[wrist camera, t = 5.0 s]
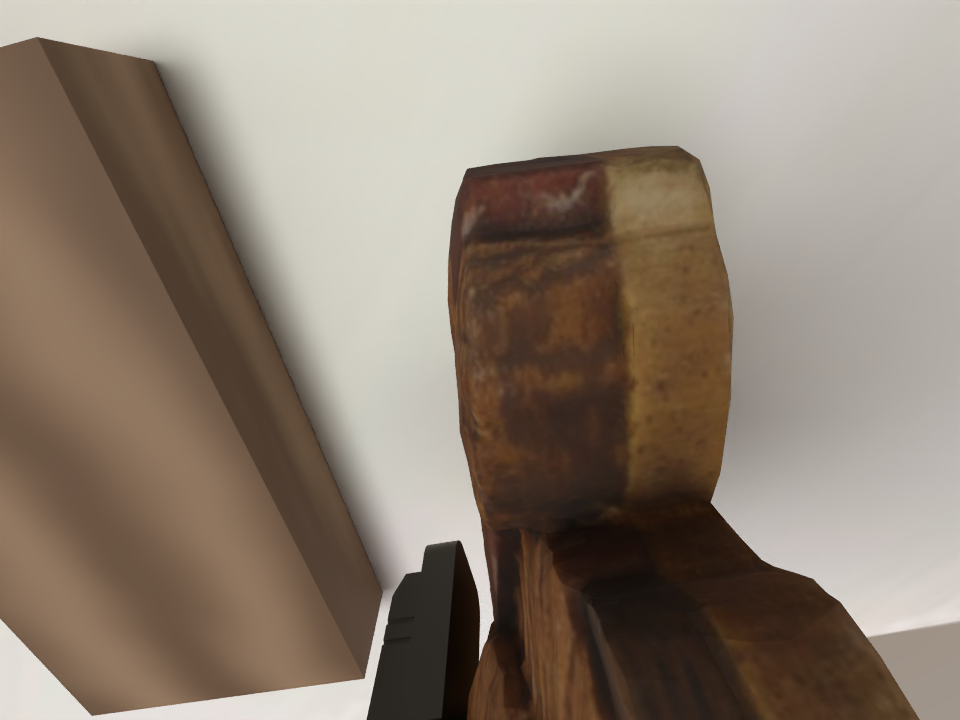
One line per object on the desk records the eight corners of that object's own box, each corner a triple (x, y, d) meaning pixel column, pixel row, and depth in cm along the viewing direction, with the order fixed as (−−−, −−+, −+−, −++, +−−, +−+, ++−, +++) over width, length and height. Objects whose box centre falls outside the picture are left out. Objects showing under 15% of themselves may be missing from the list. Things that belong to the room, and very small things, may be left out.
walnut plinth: (152, 61, 14) (36, 37, 10) (382, 592, 23) (364, 678, 19) (-207, 157, 15) (-426, 167, 11) (150, 627, 24) (91, 715, 21)
